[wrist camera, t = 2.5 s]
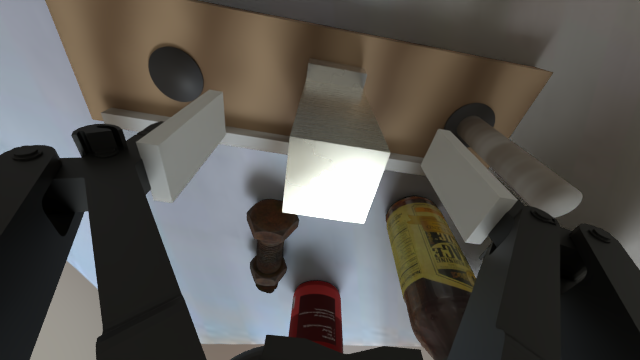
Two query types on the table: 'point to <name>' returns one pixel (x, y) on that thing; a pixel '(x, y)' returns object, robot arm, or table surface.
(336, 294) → the canned food
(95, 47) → the board
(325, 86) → the block
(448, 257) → the sauce bottle
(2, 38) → the table surface
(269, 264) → the bolt
